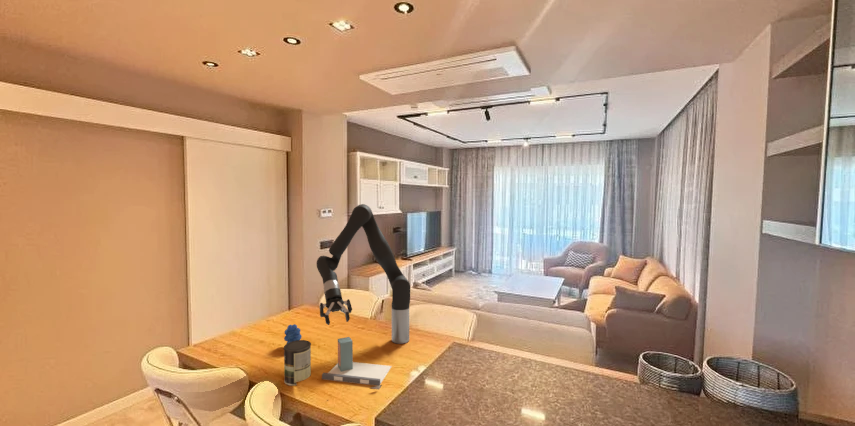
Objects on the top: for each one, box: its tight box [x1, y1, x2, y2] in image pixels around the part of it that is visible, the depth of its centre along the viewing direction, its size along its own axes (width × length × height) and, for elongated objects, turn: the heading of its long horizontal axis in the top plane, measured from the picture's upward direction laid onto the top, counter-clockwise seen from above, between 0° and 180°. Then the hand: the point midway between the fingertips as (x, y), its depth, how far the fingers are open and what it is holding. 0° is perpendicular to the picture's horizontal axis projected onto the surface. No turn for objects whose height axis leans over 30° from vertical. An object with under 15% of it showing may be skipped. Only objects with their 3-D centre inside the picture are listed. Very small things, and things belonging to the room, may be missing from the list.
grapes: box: [283, 323, 302, 344], centre depth 169 cm, size 12×7×12 cm, turn 59°
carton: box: [337, 336, 354, 372], centre depth 145 cm, size 5×5×12 cm
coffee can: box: [283, 339, 312, 387], centre depth 138 cm, size 10×10×14 cm
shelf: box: [321, 361, 393, 390], centre depth 141 cm, size 16×24×4 cm
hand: (338, 322), depth 155 cm, fingers open, 8 cm apart
